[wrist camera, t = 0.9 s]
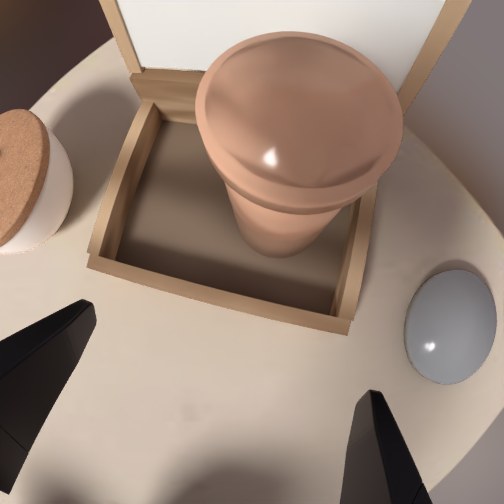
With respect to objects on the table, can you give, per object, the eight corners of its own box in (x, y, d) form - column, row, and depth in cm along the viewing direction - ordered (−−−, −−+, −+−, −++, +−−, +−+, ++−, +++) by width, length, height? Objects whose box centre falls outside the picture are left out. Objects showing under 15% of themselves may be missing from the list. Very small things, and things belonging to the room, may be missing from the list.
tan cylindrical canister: (314, 272, 22) (395, 225, 8) (221, 250, 23) (165, 171, 9) (331, 185, 23) (403, 59, 9) (244, 164, 24) (228, 20, 10)
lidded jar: (-8, 215, 24) (-73, 189, 15) (55, 129, 25) (0, 79, 16) (42, 290, 23) (-38, 280, 14) (117, 190, 24) (55, 137, 15)
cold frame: (338, 332, 22) (364, 341, 16) (102, 271, 23) (59, 260, 17) (370, 154, 24) (396, 115, 18) (157, 110, 25) (135, 68, 19)
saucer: (476, 385, 21) (482, 387, 20) (391, 376, 21) (396, 378, 20) (496, 282, 22) (503, 281, 21) (415, 259, 22) (421, 257, 21)
